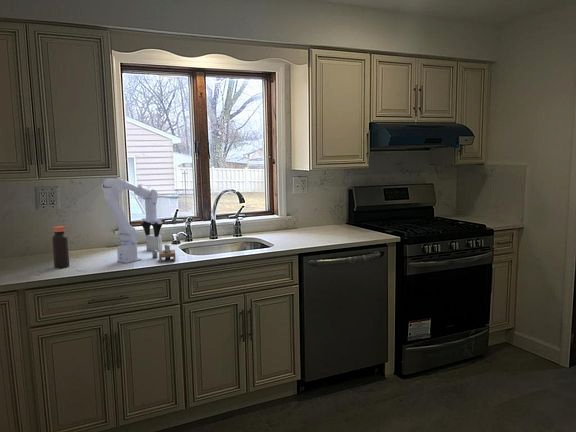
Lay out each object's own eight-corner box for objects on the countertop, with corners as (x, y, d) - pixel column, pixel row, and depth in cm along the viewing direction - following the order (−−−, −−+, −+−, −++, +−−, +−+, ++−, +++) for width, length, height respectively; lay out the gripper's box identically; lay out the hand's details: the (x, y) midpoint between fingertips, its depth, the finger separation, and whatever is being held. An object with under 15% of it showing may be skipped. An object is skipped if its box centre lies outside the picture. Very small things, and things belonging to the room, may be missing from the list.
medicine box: (162, 249, 273) (162, 234, 272) (158, 251, 269) (157, 236, 268) (150, 248, 275) (149, 234, 274) (146, 250, 271) (145, 235, 270)
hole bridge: (175, 261, 241) (175, 253, 241) (159, 262, 239) (159, 253, 239) (175, 258, 250) (174, 249, 249) (159, 258, 248) (159, 250, 247)
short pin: (154, 258, 249) (154, 251, 248) (151, 258, 250) (151, 250, 250) (158, 257, 251) (158, 250, 250) (155, 257, 252) (155, 250, 252)
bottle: (71, 265, 235) (69, 225, 233) (65, 268, 229) (63, 227, 226) (58, 265, 235) (55, 225, 233) (51, 268, 228) (48, 228, 226)
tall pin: (167, 261, 243) (167, 245, 242) (164, 260, 244) (163, 245, 243) (171, 260, 245) (170, 244, 244) (167, 259, 247) (167, 244, 246)
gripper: (165, 211, 255) (166, 236, 257) (148, 209, 263) (149, 233, 265) (155, 212, 249) (156, 238, 251) (137, 211, 258) (139, 235, 260)
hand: (152, 235), depth 258 cm, fingers open, 7 cm apart
